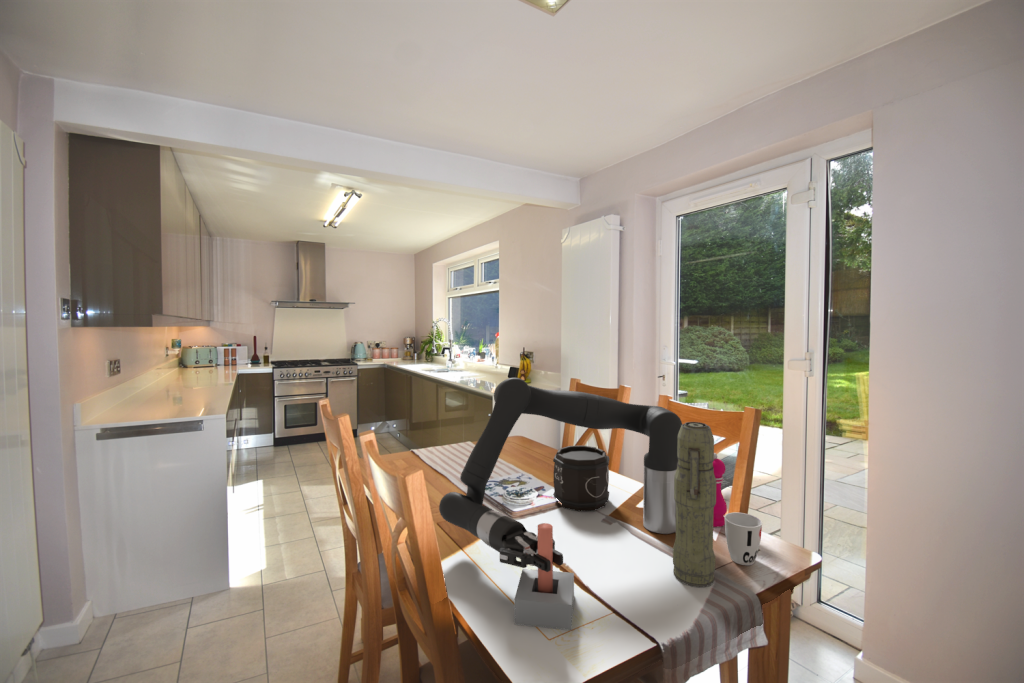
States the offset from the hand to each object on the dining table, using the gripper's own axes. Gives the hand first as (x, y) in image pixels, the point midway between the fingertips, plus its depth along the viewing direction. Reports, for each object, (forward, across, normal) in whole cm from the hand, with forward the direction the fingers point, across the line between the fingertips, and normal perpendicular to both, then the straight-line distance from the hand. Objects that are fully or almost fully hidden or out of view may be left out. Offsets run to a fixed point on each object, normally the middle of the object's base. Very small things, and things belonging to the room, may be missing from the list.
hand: (555, 563), depth 93 cm
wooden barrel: (-34, +47, +11) cm, 59 cm away
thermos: (+11, +34, +11) cm, 37 cm away
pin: (-3, 0, +8) cm, 9 cm away
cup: (+15, +49, +11) cm, 52 cm away
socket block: (-3, 0, +11) cm, 11 cm away
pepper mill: (+1, +63, +11) cm, 64 cm away
